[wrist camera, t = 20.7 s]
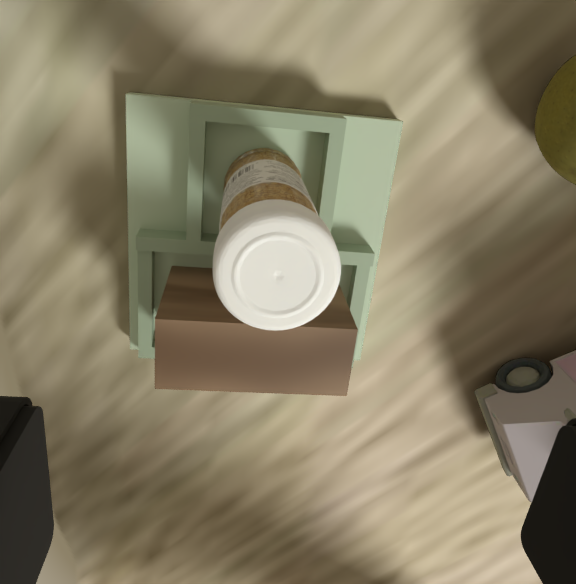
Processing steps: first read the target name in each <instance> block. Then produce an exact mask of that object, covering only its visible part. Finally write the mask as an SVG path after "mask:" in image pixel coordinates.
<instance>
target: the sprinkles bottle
mask: <svg viewBox="0 0 576 584" xmlns="http://www.w3.org/2000/svg"><path fill="white" fill-rule="evenodd" d="M223 189H224V193H223V199H222V207H221V215H220V223H219V235H218V237H217V240H216V243H215V247H214V254H213V281H214V286H215V289H216V292H217V295H218V297H219V299H220V300H221V302H222V303H223V305H224V306H225V307H226V309H227V310H228V311H229V312H230V313H231V314H232V315H233V316H235V317H236V318H237V319H239V320H240V321H242V322H244V323H246V324H248V325H250V326H252V327H256V328H259V329H264V330H287V329H292V328H295V327H298V326H301V325H303V324H305V323H307V322H309V321H311V320H312V319H314V318H315V317H317V316H318V315H319V314H320V313H321V312H322V311H324V310H325V308H326V307H327V306H328V305H329V303H330V302H331V301H332V299H333V297H334V295H335V293H336V291H337V288H338V285H339V281H340V276H341V262H340V256H339V252H338V249H337V246H336V244H335V241H334V239H333V237H332V235H331V233H330V231H329V229H328V227H327V226H326V224H325V223H324V221H323V220H322V219H321V218H320V217H319V216H318V213H317V211H316V209H315V206H314V204H313V202H312V200H311V198H310V196H309V194H308V191H307V189H306V187H305V185H304V183H303V181H302V178H301V174H300V171H299V169H298V168H297V167H296V165H295V163H294V162H293V161H292V160H291V159H290V158H289V157H288V156H287V155H285V154H283V153H282V152H280V151H278V150H273V149H269V148H258V149H252V150H250V151H247V152H245V153H244V154H242V155H240V156H239V157H238V158H237V159H236V160H235V161H234V162H233V163H232V164H231V165H230V167H229V169H228V171H227V173H226V176H225V180H224V188H223Z"/></svg>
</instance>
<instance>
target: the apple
mask: <svg viewBox="0 0 576 584" xmlns="http://www.w3.org/2000/svg"><path fill="white" fill-rule="evenodd" d="M535 136H536V141H537V143H538V146H539V148H540V151H541V152H542V154H543V156H544V158H545V159H546V160H547V162H548V163H549V164H550V166H551V167H552V168H553V169H554V170H555V171H556V172H557V173H558V174H559V175H561V176H562V177H564V178H565V179H566V180H568V181H570V182H571V183H573V184H575V185H576V55H575V56H573V57H572V58H571V59H570V60H568V61H567V62H566V63H565V64H564V65H563V66H562V67H561V68H560V69H559V70H558V71H557V72H556V74H555V75H554V76H553V78H552V79H551V81H550V82H549V84H548V85H547V87H546V89H545V91H544V93H543V95H542V98H541V100H540V103H539V105H538V108H537V113H536V119H535Z"/></svg>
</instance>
